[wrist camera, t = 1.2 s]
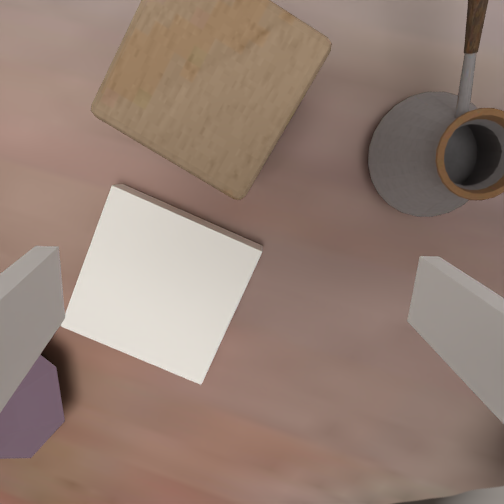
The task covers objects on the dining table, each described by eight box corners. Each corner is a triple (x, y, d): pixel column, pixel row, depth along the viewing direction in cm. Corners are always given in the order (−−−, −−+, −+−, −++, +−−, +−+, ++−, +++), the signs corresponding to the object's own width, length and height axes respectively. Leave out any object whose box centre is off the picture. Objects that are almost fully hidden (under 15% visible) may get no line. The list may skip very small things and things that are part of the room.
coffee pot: (478, 205, 43) (586, 229, 29) (365, 219, 44) (415, 249, 30) (474, -25, 39) (599, -135, 24) (348, -5, 40) (396, -101, 25)
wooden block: (167, 133, 43) (84, 111, 23) (215, 40, 41) (169, -68, 21) (252, 184, 44) (240, 204, 24) (304, 95, 42) (337, 40, 22)
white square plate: (262, 245, 45) (262, 251, 42) (205, 371, 48) (201, 384, 45) (122, 183, 44) (111, 185, 41) (73, 315, 47) (60, 326, 45)
